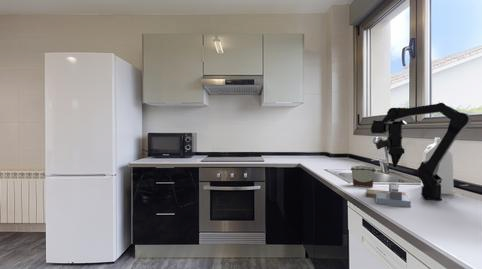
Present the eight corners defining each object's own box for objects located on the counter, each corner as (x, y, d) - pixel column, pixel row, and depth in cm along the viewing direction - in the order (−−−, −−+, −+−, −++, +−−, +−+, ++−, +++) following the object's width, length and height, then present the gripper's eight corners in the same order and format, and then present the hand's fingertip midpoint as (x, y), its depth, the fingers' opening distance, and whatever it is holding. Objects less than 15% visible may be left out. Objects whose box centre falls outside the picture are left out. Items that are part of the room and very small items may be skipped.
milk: (453, 194, 131) (455, 138, 131) (424, 192, 136) (425, 137, 136) (447, 189, 142) (448, 137, 142) (420, 187, 147) (421, 137, 146)
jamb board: (405, 195, 128) (405, 190, 128) (407, 200, 120) (407, 195, 120) (366, 192, 135) (366, 187, 135) (366, 196, 127) (366, 191, 127)
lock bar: (388, 190, 127) (389, 182, 127) (398, 191, 126) (398, 183, 126) (389, 196, 116) (389, 188, 116) (399, 197, 114) (399, 189, 114)
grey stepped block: (407, 200, 120) (407, 188, 119) (410, 206, 110) (410, 193, 110) (376, 197, 125) (376, 185, 125) (376, 203, 115) (376, 190, 115)
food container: (375, 185, 151) (376, 166, 151) (375, 187, 146) (376, 168, 146) (351, 183, 157) (351, 165, 156) (350, 185, 151) (350, 166, 151)
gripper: (375, 133, 146) (375, 163, 147) (376, 134, 129) (376, 168, 130) (400, 134, 142) (399, 165, 142) (404, 134, 125) (404, 170, 125)
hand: (394, 167), depth 135 cm, fingers closed
